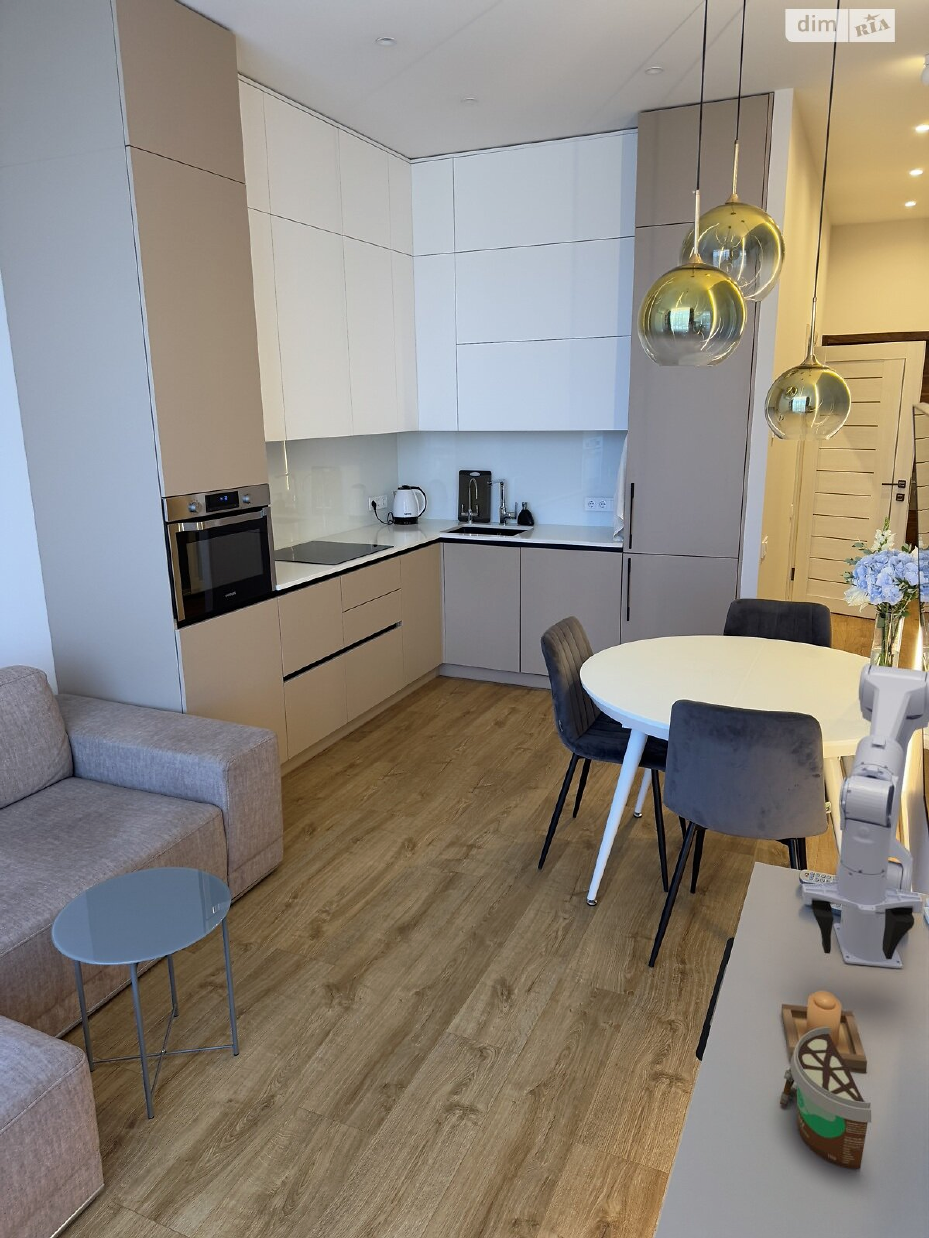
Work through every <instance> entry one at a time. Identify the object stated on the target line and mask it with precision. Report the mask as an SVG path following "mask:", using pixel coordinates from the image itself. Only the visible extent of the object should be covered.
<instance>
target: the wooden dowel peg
mask: <svg viewBox="0 0 929 1238" xmlns="http://www.w3.org/2000/svg"><path fill="white" fill-rule="evenodd" d="M807 1007H808V1008H807V1022H806V1033H808V1032H810V1031H812V1030H814V1029H817V1028H822V1027H830V1037H831V1039H832V1041H833V1043H834V1045H835V1046H836V1047H837V1045H838V1041H839V1029H840V1017H841V1010H842V1004H841V1002H840V1000H839V999H838V998H836V997H835V995H834V994H832V993H831V992H829V991H826V990H818V991H816V992H813V993H811V994H809V996H808V998H807Z"/></svg>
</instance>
